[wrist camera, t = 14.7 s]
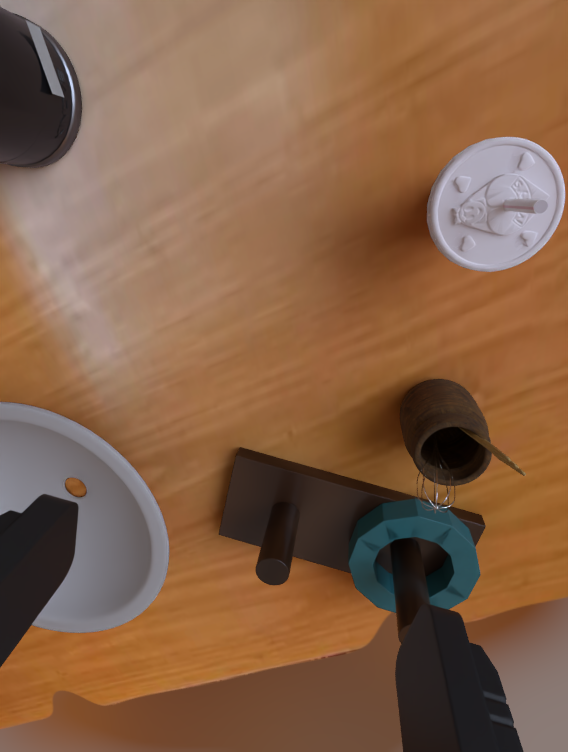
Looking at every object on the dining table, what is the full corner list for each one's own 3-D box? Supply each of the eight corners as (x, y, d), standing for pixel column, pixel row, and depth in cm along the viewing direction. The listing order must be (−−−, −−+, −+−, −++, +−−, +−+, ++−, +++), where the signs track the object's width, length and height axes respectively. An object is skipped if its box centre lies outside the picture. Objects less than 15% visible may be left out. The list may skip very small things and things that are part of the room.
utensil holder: (382, 410, 38) (393, 498, 27) (442, 358, 36) (480, 431, 25) (432, 455, 39) (462, 559, 28) (494, 408, 36) (553, 500, 25)
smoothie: (509, 241, 32) (612, 272, 19) (415, 260, 33) (451, 301, 20) (504, 141, 30) (615, 100, 17) (403, 166, 31) (436, 144, 18)
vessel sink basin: (88, 611, 52) (52, 666, 46) (-78, 459, 47) (-142, 498, 41) (244, 515, 44) (225, 566, 38) (61, 320, 39) (7, 343, 33)
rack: (222, 524, 45) (185, 614, 35) (239, 446, 41) (204, 523, 32) (444, 589, 44) (469, 700, 34) (481, 515, 40) (521, 616, 30)
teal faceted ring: (336, 574, 43) (335, 595, 41) (370, 485, 39) (371, 502, 37) (445, 607, 42) (450, 629, 40) (491, 520, 38) (499, 539, 36)
